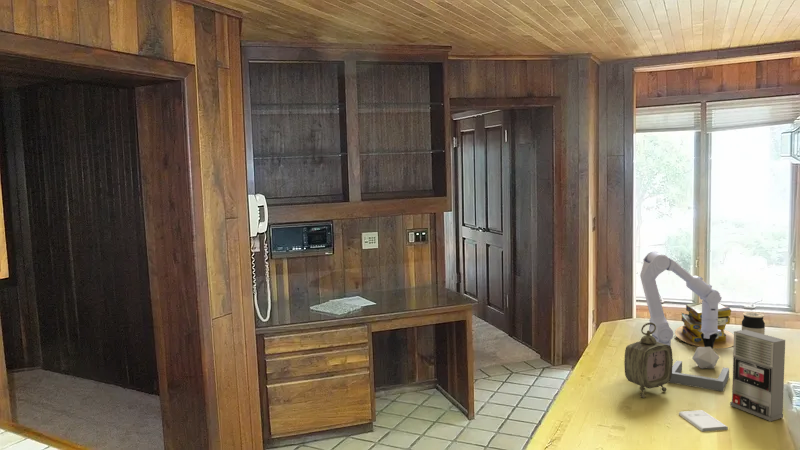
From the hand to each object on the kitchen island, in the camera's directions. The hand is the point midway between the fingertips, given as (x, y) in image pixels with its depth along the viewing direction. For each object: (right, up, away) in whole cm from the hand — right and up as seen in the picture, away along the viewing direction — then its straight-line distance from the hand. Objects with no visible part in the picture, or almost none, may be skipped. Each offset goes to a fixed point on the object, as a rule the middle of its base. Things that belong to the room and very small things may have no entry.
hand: (708, 351), depth 243 cm
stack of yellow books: (+13, -1, +29) cm, 31 cm away
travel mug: (+19, -3, +3) cm, 20 cm away
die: (-4, -5, -6) cm, 9 cm away
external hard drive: (-29, -11, -54) cm, 63 cm away
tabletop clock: (-37, -8, -30) cm, 48 cm away
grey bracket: (-13, -6, -18) cm, 23 cm away
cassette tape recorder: (-10, -9, -49) cm, 50 cm away
